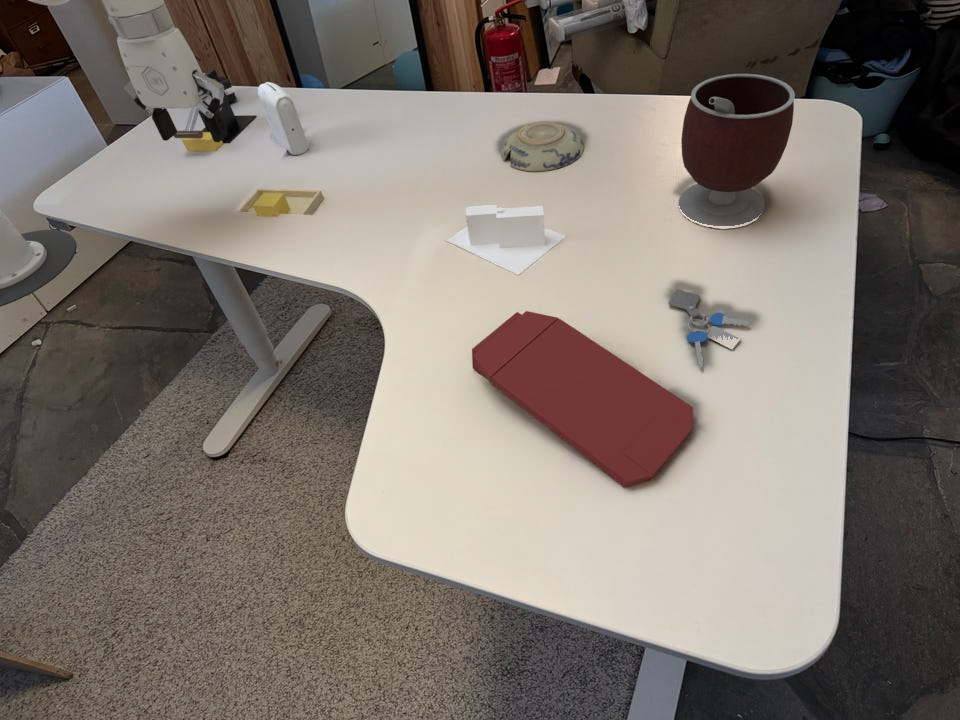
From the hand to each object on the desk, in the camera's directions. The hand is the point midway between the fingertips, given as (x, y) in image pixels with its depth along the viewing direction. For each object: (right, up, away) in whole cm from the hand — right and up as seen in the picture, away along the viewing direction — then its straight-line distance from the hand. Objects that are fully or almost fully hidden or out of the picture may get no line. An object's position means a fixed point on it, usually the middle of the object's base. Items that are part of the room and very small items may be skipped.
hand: (195, 137), depth 98 cm
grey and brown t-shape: (-11, +15, +26) cm, 32 cm away
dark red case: (+57, -41, -28) cm, 76 cm away
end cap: (-16, +24, +45) cm, 53 cm away
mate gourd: (+82, -13, -6) cm, 84 cm away
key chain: (+75, -32, -23) cm, 85 cm away
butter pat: (+10, -11, +7) cm, 17 cm away
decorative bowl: (+58, +2, +12) cm, 59 cm away
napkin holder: (+50, -18, -5) cm, 53 cm away
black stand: (-9, +13, +34) cm, 38 cm away
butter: (-11, +8, +29) cm, 32 cm away
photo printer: (+8, +8, +26) cm, 28 cm away
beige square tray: (+10, -11, +8) cm, 17 cm away
